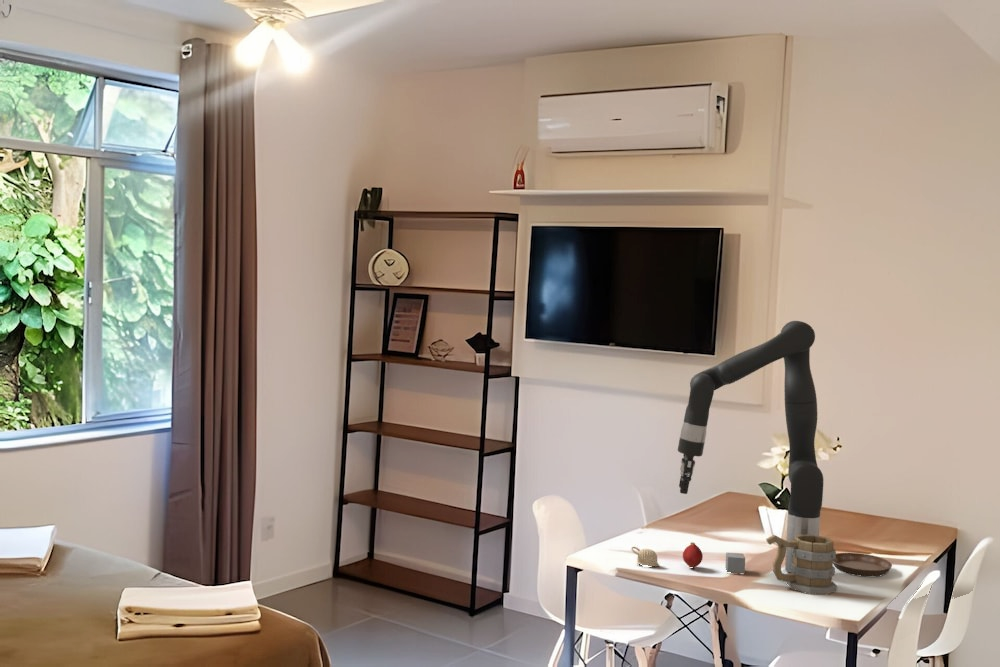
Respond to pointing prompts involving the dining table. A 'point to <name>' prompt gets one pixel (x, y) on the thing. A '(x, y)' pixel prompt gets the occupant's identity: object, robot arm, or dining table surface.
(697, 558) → the red squash
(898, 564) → the dining table surface
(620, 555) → the dining table surface
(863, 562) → the plant saucer
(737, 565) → the grey block
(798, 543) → the tankard
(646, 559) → the decorative ornament
